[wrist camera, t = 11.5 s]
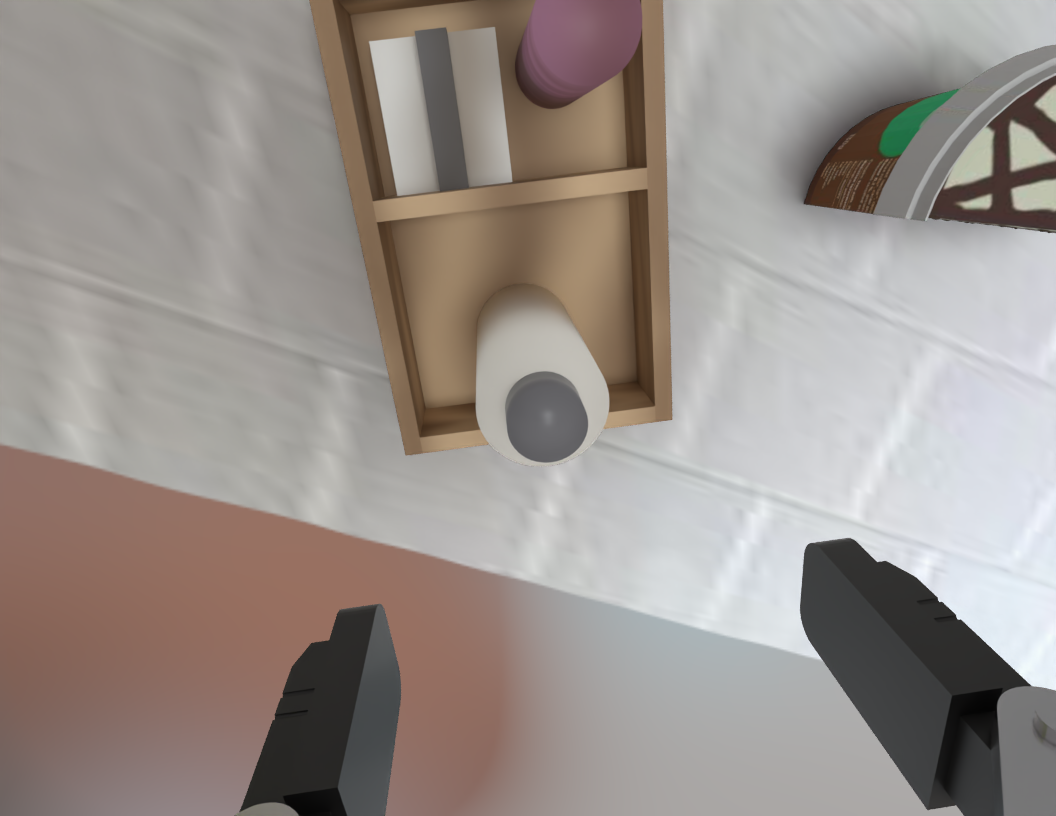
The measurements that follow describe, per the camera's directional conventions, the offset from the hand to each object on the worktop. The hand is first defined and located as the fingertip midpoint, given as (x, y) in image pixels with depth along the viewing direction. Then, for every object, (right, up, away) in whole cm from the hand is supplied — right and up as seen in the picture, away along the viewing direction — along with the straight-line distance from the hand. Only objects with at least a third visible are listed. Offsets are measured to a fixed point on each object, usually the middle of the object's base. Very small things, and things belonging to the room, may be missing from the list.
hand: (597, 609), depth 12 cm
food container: (+17, +16, +18) cm, 30 cm away
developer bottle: (-2, +8, +19) cm, 20 cm away
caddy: (-2, +13, +17) cm, 22 cm away
